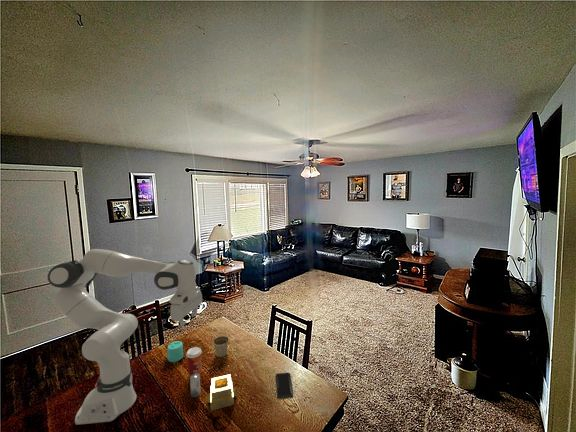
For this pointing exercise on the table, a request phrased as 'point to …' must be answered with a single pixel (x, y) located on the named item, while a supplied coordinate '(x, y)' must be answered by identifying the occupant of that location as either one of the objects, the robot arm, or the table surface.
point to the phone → (283, 385)
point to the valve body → (221, 392)
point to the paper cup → (194, 360)
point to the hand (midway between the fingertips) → (188, 320)
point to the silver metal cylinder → (195, 385)
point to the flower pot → (221, 345)
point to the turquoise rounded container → (175, 351)
